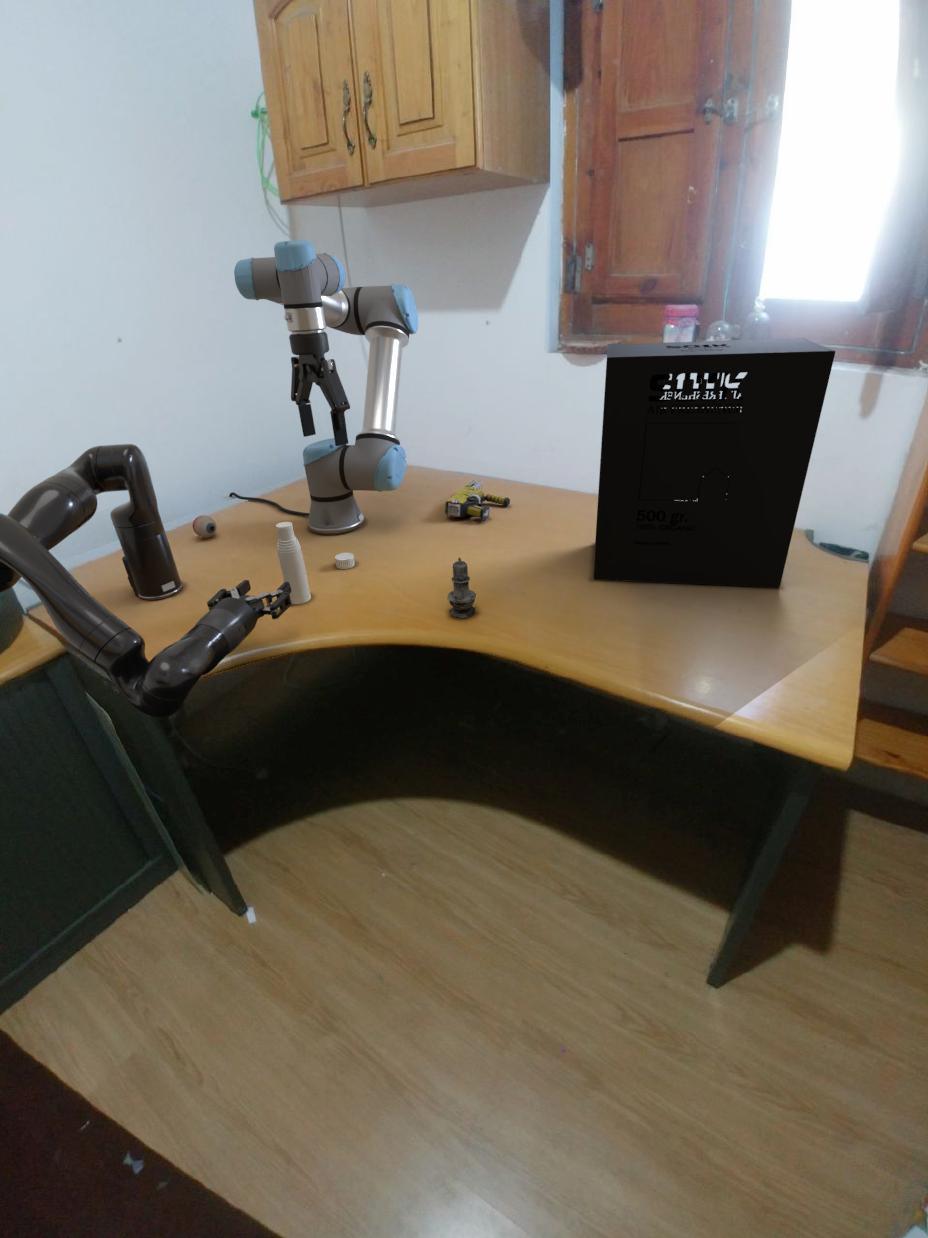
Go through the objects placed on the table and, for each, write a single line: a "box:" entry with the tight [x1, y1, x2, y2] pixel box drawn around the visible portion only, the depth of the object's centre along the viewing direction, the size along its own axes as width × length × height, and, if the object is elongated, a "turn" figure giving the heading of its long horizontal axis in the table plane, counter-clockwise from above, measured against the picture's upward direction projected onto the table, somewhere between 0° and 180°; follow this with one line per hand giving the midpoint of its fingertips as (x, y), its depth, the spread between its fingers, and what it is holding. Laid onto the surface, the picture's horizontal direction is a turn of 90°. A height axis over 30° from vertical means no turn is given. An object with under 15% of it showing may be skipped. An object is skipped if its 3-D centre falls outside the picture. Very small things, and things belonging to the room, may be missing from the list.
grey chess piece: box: [446, 556, 477, 619], centre depth 120 cm, size 6×6×12 cm
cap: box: [334, 552, 356, 570], centre depth 145 cm, size 4×4×2 cm
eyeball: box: [192, 514, 217, 538], centre depth 165 cm, size 6×6×6 cm
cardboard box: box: [592, 337, 836, 589], centre depth 125 cm, size 38×20×45 cm, turn 78°
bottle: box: [275, 521, 312, 605], centre depth 127 cm, size 5×5×17 cm
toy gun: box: [444, 480, 511, 521], centre depth 175 cm, size 5×24×15 cm
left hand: (268, 585), depth 118 cm, fingers open, 8 cm apart
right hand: (325, 439), depth 131 cm, fingers open, 13 cm apart
